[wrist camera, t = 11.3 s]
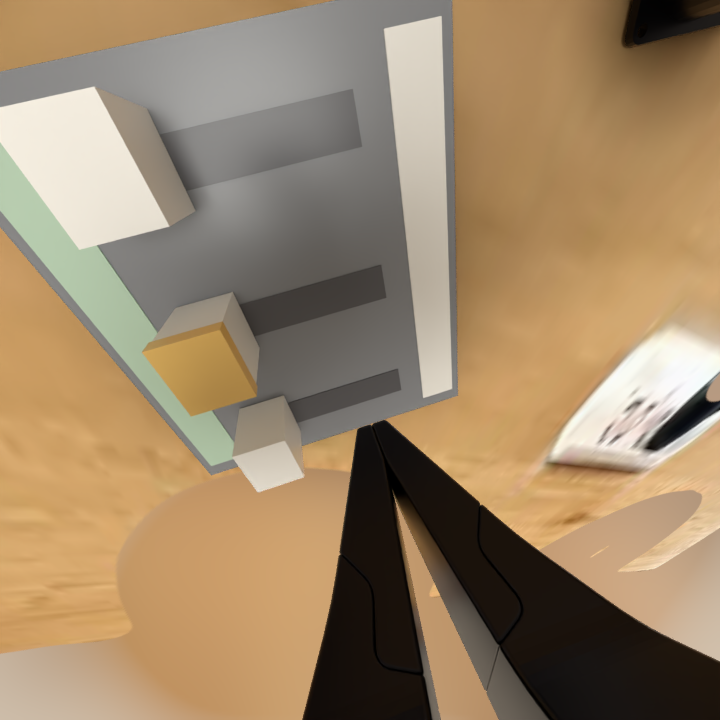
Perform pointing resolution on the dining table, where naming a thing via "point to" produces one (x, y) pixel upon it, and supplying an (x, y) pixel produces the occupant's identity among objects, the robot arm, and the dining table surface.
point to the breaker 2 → (268, 444)
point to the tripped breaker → (206, 354)
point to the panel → (278, 209)
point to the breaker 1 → (95, 164)
